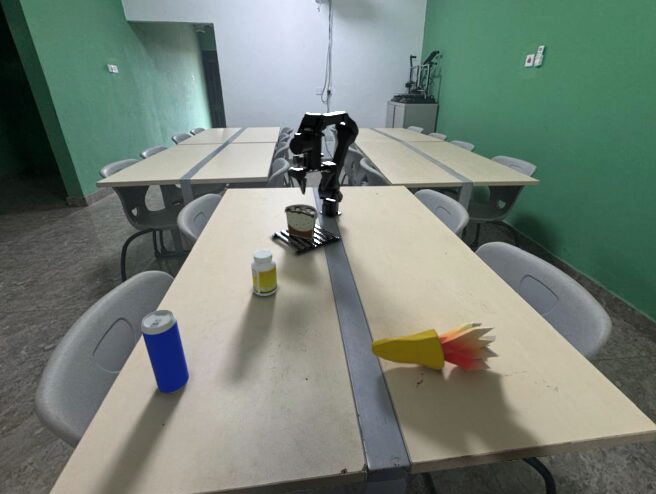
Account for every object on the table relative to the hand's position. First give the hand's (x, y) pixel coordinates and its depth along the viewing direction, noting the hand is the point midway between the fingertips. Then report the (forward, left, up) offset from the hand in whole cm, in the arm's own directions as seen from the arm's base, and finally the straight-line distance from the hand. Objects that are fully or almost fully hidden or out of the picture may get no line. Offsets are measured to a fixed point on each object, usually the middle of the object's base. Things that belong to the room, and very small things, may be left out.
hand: (313, 192), depth 119 cm
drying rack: (+10, +9, -13) cm, 19 cm away
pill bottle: (+36, +27, -13) cm, 47 cm away
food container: (+10, +8, -12) cm, 17 cm away
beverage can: (+63, +42, -13) cm, 77 cm away
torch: (+21, +69, -13) cm, 73 cm away
